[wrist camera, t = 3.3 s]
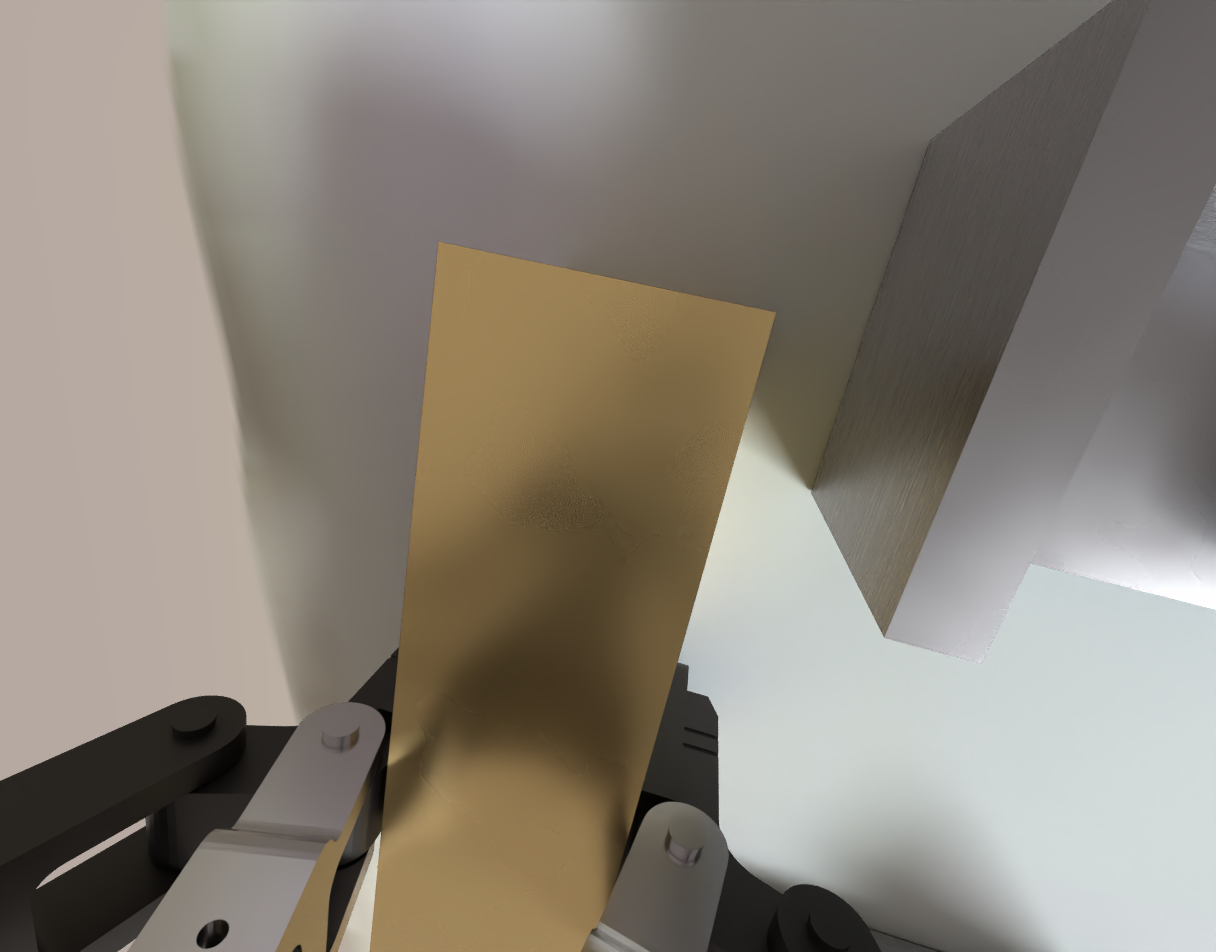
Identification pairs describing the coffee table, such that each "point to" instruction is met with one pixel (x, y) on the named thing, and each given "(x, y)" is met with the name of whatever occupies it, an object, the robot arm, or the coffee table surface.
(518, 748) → the link bar
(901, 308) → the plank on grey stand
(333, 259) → the coffee table surface
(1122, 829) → the coffee table surface
